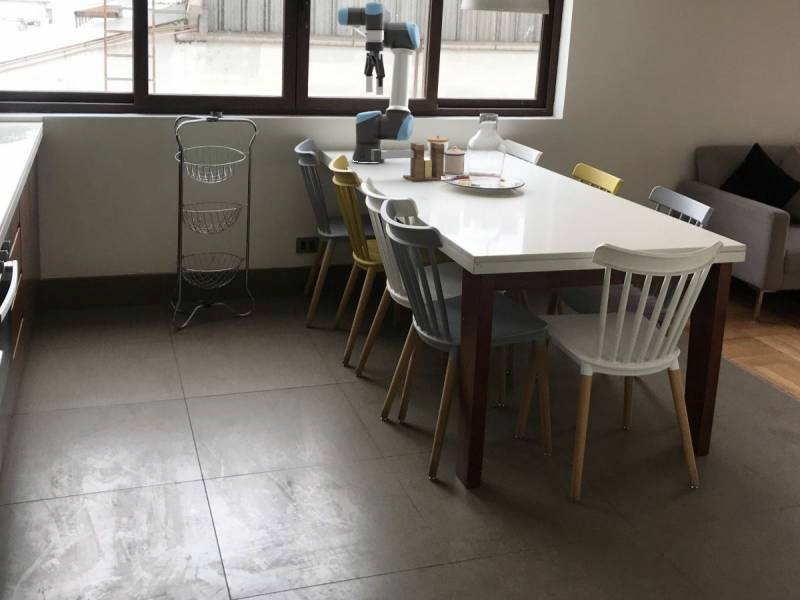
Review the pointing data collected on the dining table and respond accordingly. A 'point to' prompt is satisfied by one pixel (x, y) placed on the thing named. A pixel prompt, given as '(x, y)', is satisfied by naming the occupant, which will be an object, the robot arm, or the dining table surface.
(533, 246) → the dining table surface
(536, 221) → the dining table surface
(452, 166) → the teacup with lid
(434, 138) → the lidded jar
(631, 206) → the dining table surface
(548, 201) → the dining table surface
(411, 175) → the wooden pillar stand
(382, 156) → the shaft
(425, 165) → the block
